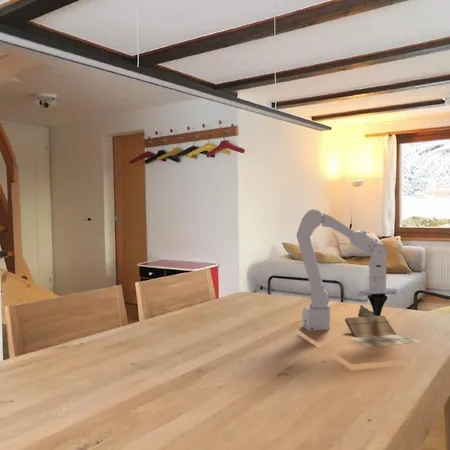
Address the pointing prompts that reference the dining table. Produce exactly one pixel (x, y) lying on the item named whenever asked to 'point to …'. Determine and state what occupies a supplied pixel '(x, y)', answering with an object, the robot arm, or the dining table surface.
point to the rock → (365, 312)
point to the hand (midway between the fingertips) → (377, 315)
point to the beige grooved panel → (385, 340)
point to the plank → (369, 326)
